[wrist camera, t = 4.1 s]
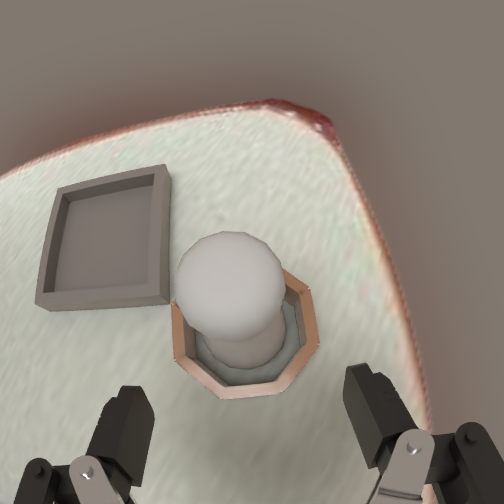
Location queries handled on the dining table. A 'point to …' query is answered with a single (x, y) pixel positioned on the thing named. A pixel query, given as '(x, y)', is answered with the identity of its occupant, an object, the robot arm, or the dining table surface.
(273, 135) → the dining table surface
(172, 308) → the cup ring
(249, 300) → the salt shaker
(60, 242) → the tray
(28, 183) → the dining table surface
